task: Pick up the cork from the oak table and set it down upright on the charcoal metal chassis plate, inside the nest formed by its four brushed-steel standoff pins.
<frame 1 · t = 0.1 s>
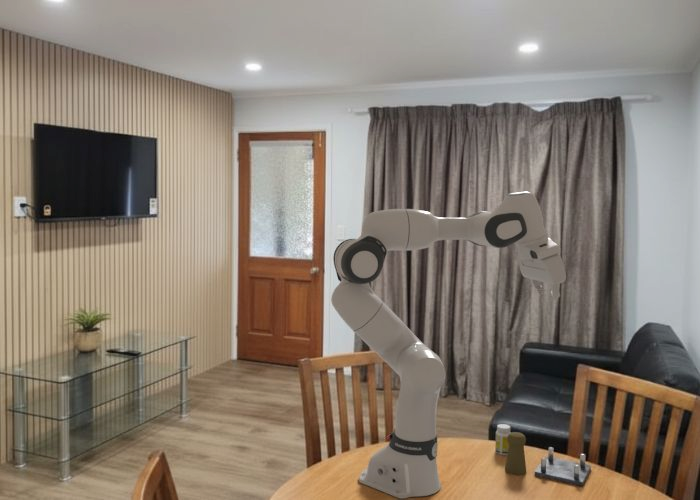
hand: (548, 294, 171), 52 cm above the table, tool tilted 20°, fingers open, 8 cm apart
supplement bottle: (503, 453, 191), on the table
standoff chassis: (562, 472, 177), on the table
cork: (515, 471, 178), on the table
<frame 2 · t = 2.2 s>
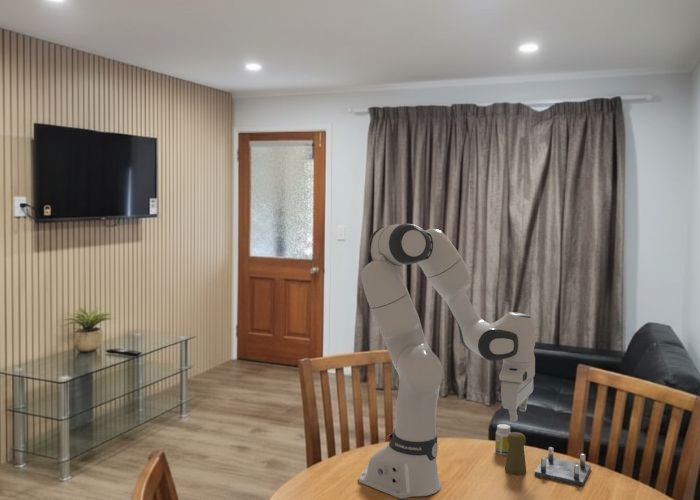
hand: (518, 415, 177), 16 cm above the table, tool pointing down, fingers open, 8 cm apart
nothing on the table moved.
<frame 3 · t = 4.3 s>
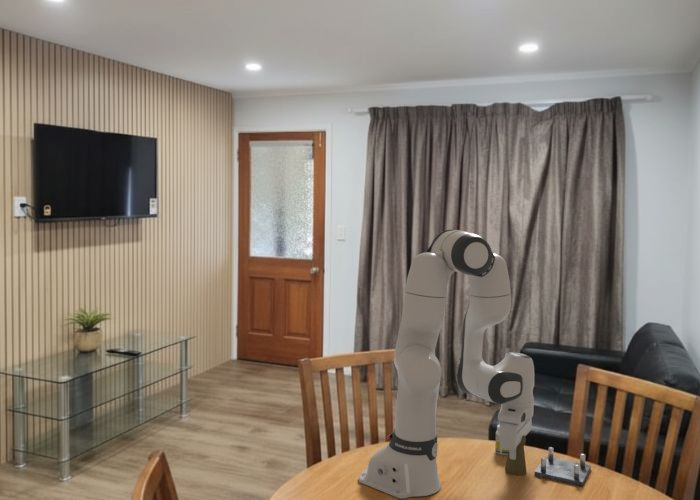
hand: (516, 455, 178), 5 cm above the table, tool pointing down, fingers closed on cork, 4 cm apart
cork: (515, 471, 178), on the table, touching gripper
everything else where it was.
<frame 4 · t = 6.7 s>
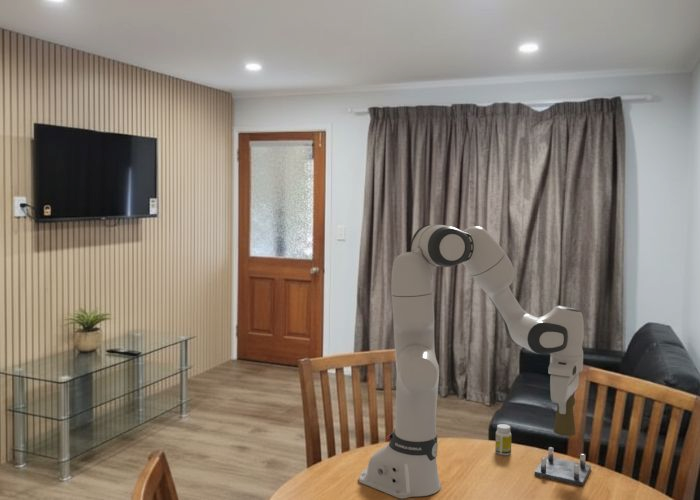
hand: (564, 410, 176), 18 cm above the table, tool pointing down, fingers closed on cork, 4 cm apart
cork: (564, 432, 177), point 12 cm above the table, touching gripper
everything else where it was.
when the fingers open (7 cm above the table, at t = 9.5 s): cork stays where it is, resting on standoff chassis.
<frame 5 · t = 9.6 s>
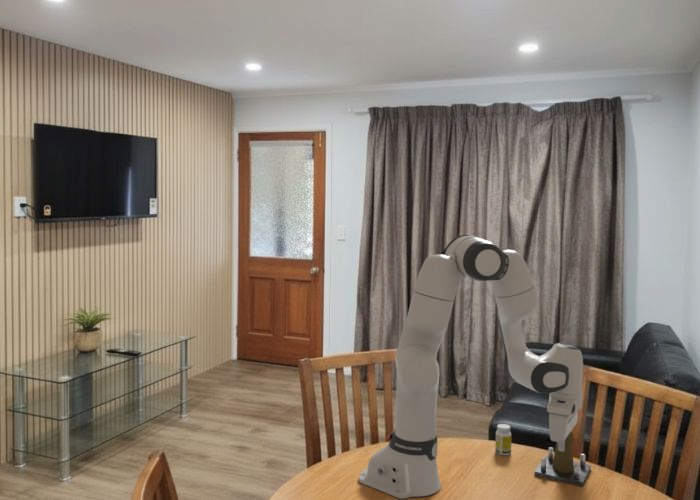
hand: (563, 447, 177), 7 cm above the table, tool pointing down, fingers open, 4 cm apart
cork: (563, 469, 177), point 1 cm above the table, touching standoff chassis
everything else where it was.
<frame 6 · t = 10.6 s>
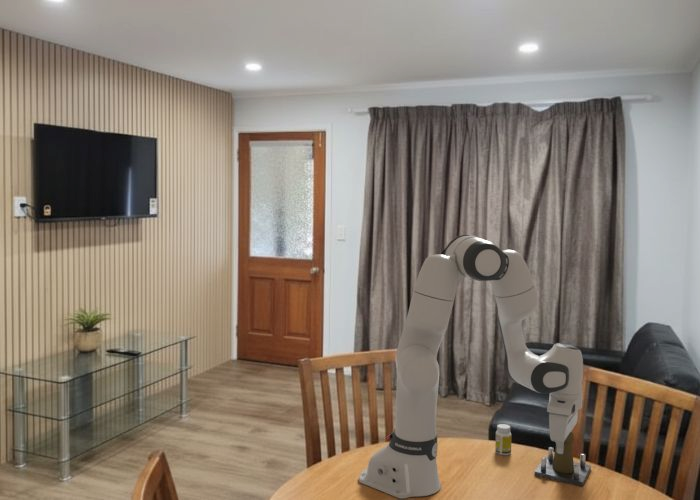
hand: (563, 447, 177), 7 cm above the table, tool pointing down, fingers open, 8 cm apart
nothing on the table moved.
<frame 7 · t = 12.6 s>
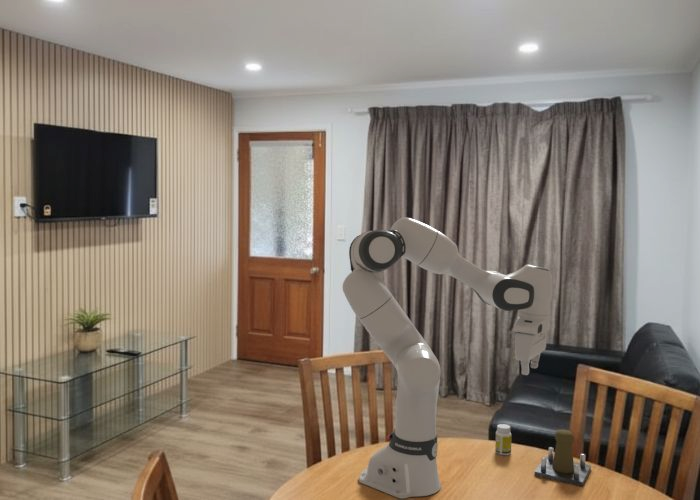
hand: (529, 371, 174), 30 cm above the table, tool pointing down, fingers open, 8 cm apart
nothing on the table moved.
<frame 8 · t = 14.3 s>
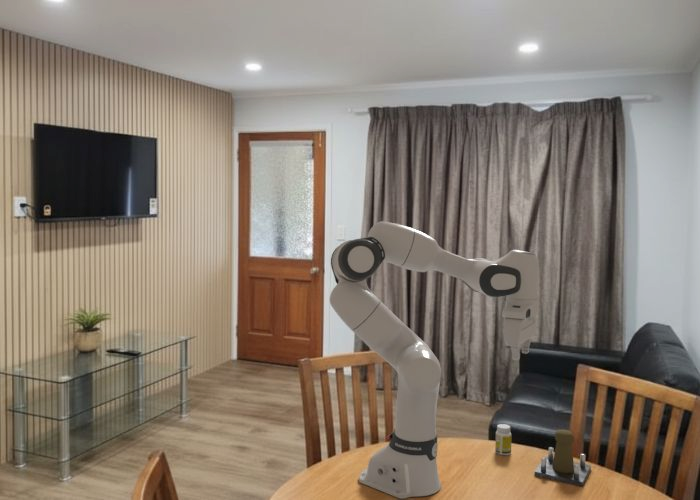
hand: (520, 356, 174), 34 cm above the table, tool pointing down, fingers open, 8 cm apart
nothing on the table moved.
at the end: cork 0.1 cm off-centre on the standoff chassis, point 1.0 cm above the standoff chassis's base; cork tilted 0°; the gripper is holding nothing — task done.
